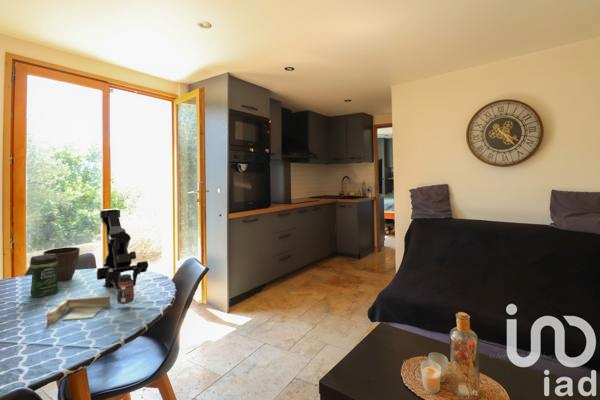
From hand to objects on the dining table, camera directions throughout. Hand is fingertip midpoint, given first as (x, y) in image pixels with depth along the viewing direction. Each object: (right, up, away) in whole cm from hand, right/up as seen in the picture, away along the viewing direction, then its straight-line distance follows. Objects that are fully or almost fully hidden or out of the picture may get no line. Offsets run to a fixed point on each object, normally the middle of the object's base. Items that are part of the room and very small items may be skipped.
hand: (126, 287), depth 121 cm
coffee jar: (-46, -7, +13) cm, 48 cm away
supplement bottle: (-1, -7, +2) cm, 7 cm away
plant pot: (-53, -6, +32) cm, 62 cm away
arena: (-14, -9, -5) cm, 17 cm away
